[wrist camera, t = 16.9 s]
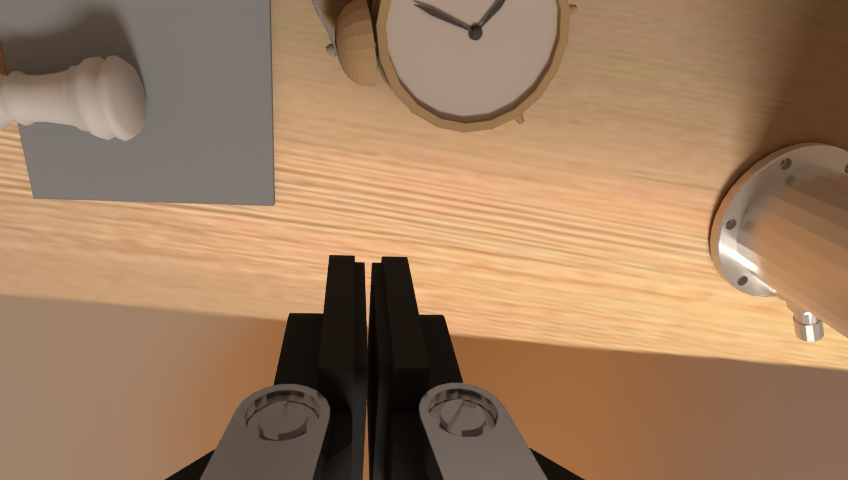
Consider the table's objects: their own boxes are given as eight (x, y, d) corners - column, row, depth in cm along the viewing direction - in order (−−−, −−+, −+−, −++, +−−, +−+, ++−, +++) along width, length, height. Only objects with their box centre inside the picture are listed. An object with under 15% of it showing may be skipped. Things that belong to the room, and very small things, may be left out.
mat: (269, -35, 30) (268, -36, 29) (274, 202, 35) (274, 205, 35) (-16, -66, 27) (-23, -67, 27) (38, 195, 33) (33, 198, 32)
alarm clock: (520, 158, 34) (286, 74, 27) (487, 135, 38) (278, 57, 31) (608, -25, 30) (362, -174, 23) (561, -28, 34) (341, -156, 28)
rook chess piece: (124, 36, 28) (-36, 35, 28) (99, 93, 26) (-78, 93, 25) (155, 103, 32) (15, 102, 31) (136, 158, 29) (-18, 159, 29)
